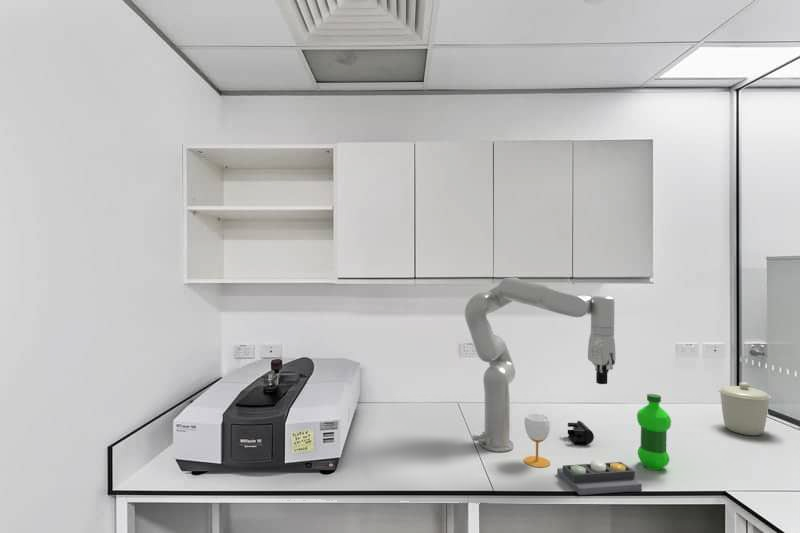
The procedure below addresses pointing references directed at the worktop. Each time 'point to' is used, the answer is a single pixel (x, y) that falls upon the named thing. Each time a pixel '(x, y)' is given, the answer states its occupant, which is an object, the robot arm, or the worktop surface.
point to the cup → (537, 436)
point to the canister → (744, 409)
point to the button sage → (578, 469)
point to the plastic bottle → (653, 434)
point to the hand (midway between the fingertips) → (601, 383)
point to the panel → (600, 480)
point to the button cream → (598, 466)
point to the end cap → (580, 434)
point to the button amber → (617, 467)
